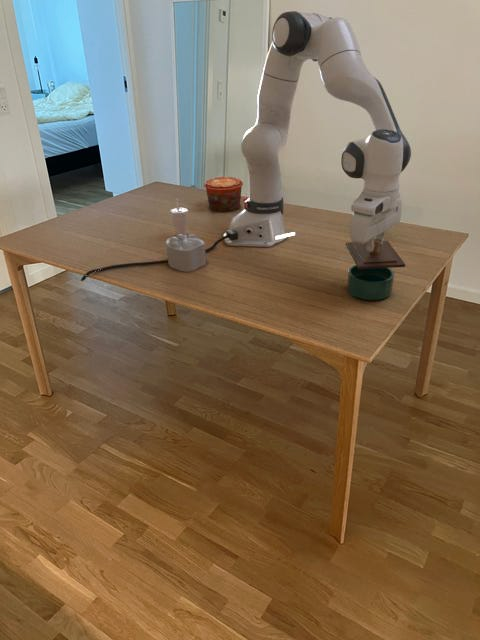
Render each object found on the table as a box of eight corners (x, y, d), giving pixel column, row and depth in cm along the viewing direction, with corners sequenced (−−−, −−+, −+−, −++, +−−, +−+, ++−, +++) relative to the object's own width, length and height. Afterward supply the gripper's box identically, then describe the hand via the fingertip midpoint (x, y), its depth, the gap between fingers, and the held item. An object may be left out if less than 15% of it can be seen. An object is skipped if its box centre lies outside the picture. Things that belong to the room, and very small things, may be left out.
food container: (213, 216, 198) (212, 189, 193) (200, 204, 211) (198, 179, 205) (249, 209, 204) (249, 183, 198) (234, 198, 216) (233, 174, 211)
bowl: (352, 302, 135) (354, 283, 132) (343, 282, 145) (344, 264, 142) (396, 300, 135) (399, 281, 132) (384, 280, 145) (386, 262, 142)
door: (358, 269, 127) (360, 253, 125) (345, 245, 141) (346, 230, 139) (404, 267, 128) (407, 251, 125) (387, 243, 141) (389, 228, 139)
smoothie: (169, 237, 180) (165, 200, 173) (178, 231, 185) (174, 194, 178) (185, 239, 178) (181, 201, 171) (193, 233, 183) (189, 196, 176)
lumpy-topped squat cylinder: (186, 273, 154) (184, 247, 150) (160, 262, 162) (156, 238, 157) (210, 262, 161) (208, 237, 156) (183, 252, 168) (181, 228, 164)
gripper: (389, 186, 134) (383, 234, 141) (347, 206, 122) (343, 257, 129) (410, 190, 130) (403, 239, 138) (370, 211, 118) (364, 263, 125)
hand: (374, 248), depth 133 cm, fingers closed on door, 2 cm apart
